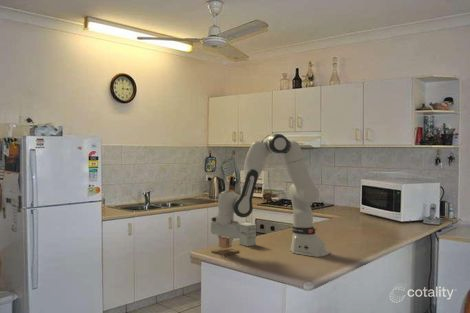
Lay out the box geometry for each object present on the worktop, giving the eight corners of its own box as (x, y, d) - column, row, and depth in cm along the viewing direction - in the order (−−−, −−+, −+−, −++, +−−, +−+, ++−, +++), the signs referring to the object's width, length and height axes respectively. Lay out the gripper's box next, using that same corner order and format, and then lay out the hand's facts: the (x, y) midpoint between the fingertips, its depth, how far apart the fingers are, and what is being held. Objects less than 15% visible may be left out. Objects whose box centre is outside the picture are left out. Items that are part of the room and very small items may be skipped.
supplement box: (238, 244, 248) (239, 223, 248) (247, 242, 253) (248, 222, 253) (246, 246, 243) (247, 225, 243) (256, 244, 248) (256, 224, 247)
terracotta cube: (231, 246, 229) (231, 237, 229) (225, 248, 225) (225, 239, 225) (225, 245, 232) (225, 236, 232) (219, 246, 228) (219, 237, 228)
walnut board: (239, 252, 229) (239, 250, 229) (225, 256, 221) (225, 254, 221) (224, 248, 237) (224, 247, 237) (211, 252, 228) (211, 250, 228)
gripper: (243, 221, 224) (243, 246, 224) (216, 216, 237) (216, 240, 238) (236, 222, 219) (235, 248, 219) (209, 217, 233) (208, 242, 233)
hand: (225, 244), depth 229 cm, fingers closed on terracotta cube, 5 cm apart
